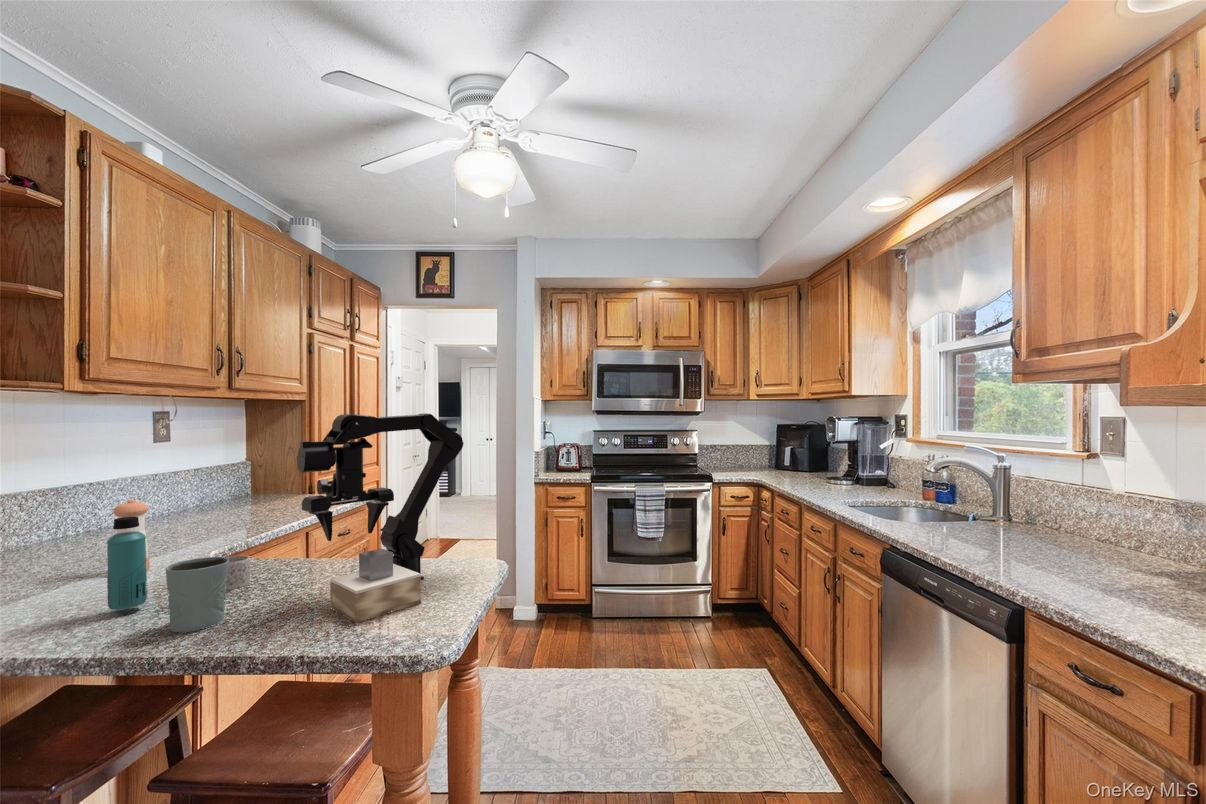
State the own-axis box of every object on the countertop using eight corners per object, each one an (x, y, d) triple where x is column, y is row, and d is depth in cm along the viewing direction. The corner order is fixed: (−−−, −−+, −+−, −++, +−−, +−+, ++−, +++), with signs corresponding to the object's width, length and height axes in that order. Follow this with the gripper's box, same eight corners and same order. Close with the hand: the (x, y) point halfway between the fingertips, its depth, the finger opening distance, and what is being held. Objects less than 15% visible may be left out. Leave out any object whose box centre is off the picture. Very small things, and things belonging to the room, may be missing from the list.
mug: (234, 581, 134) (233, 554, 134) (256, 583, 133) (256, 556, 133) (196, 595, 124) (195, 566, 124) (220, 597, 123) (219, 568, 123)
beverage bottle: (138, 615, 113) (137, 519, 113) (99, 619, 111) (98, 521, 111) (154, 604, 119) (153, 513, 119) (117, 607, 117) (116, 515, 117)
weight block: (381, 571, 120) (381, 548, 120) (393, 575, 116) (392, 552, 116) (359, 576, 116) (359, 553, 116) (370, 581, 113) (370, 557, 113)
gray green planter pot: (152, 633, 103) (151, 570, 103) (194, 613, 113) (194, 556, 113) (203, 634, 103) (202, 570, 103) (241, 613, 113) (241, 556, 113)
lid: (392, 566, 125) (392, 563, 125) (420, 576, 117) (420, 573, 117) (330, 581, 115) (330, 578, 115) (356, 594, 107) (356, 591, 107)
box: (393, 591, 125) (392, 566, 125) (420, 602, 117) (420, 577, 117) (330, 608, 115) (330, 582, 115) (356, 623, 107) (356, 594, 107)
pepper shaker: (149, 572, 143) (148, 499, 143) (112, 578, 138) (111, 503, 139) (149, 566, 149) (148, 496, 149) (113, 571, 144) (113, 499, 144)
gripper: (372, 463, 136) (372, 525, 136) (291, 470, 122) (292, 539, 122) (394, 465, 129) (395, 531, 129) (311, 473, 115) (312, 547, 115)
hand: (350, 536), depth 124 cm, fingers open, 9 cm apart
